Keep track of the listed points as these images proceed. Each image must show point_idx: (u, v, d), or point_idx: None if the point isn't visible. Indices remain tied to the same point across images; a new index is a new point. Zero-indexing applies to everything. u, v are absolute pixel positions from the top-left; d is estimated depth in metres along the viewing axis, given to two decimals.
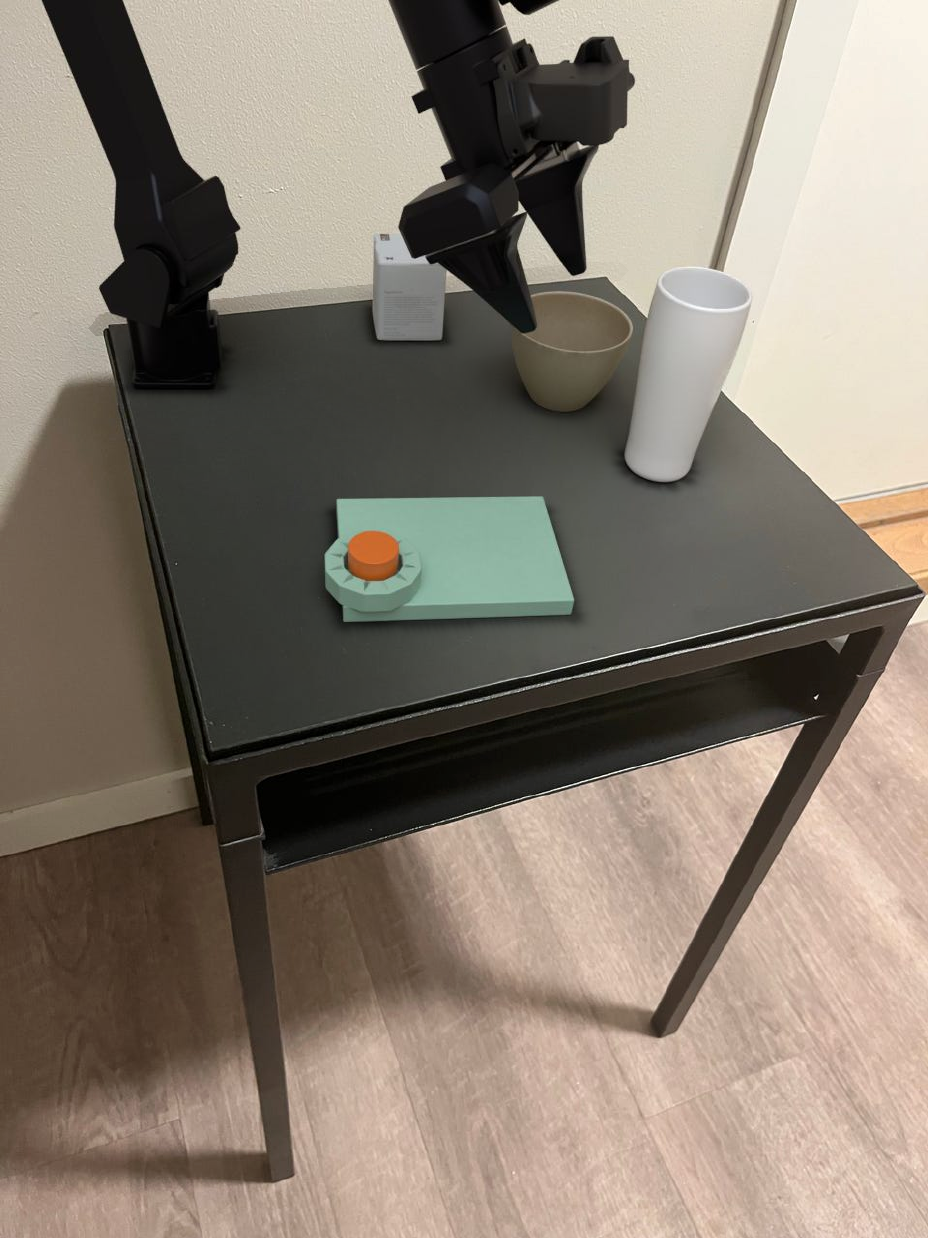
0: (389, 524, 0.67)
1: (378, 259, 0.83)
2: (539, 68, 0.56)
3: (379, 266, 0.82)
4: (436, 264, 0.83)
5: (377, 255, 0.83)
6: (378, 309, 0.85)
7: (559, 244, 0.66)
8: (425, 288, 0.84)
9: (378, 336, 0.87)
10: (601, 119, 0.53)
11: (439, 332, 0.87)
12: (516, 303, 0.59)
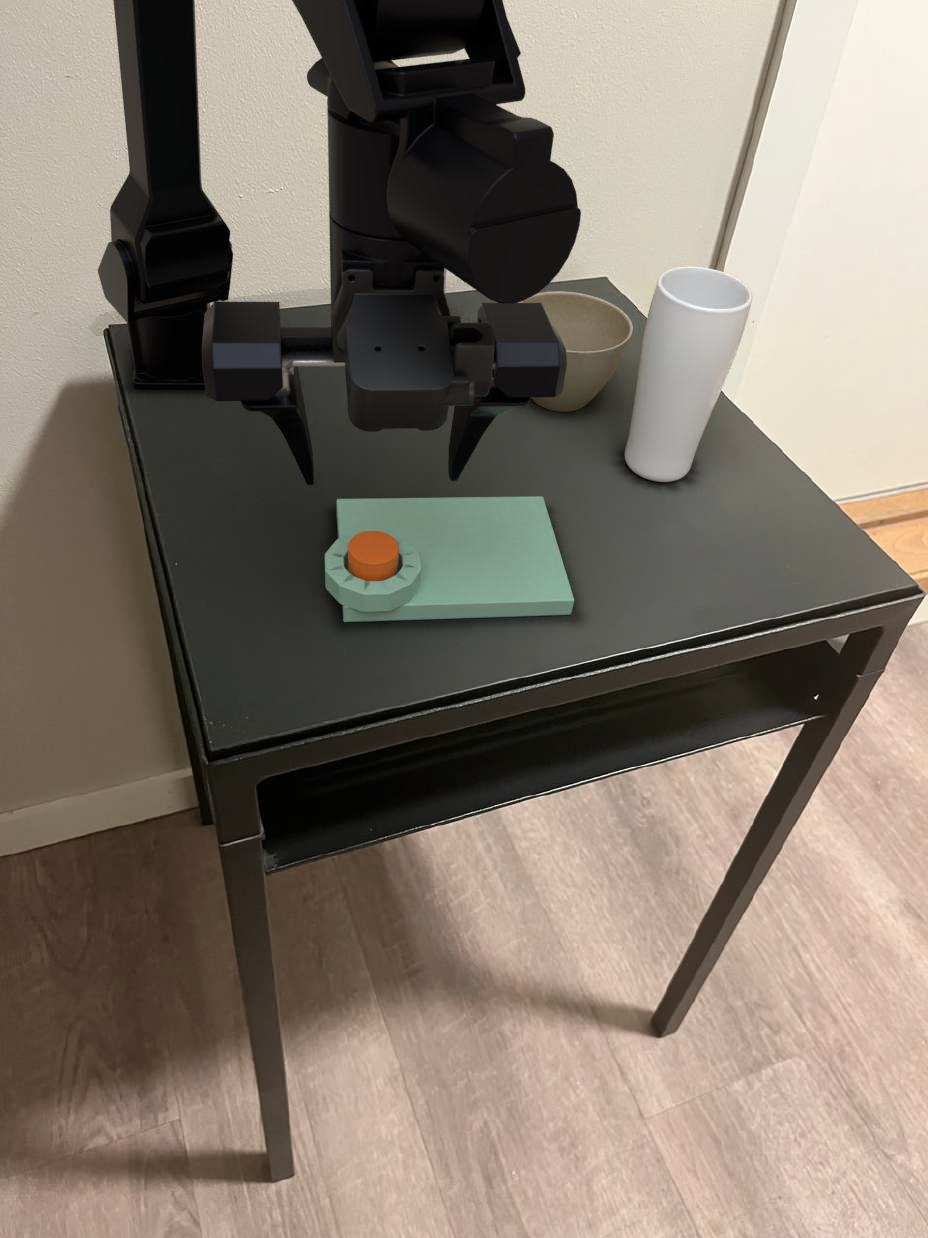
0: (389, 524, 0.67)
1: None
2: (415, 303, 0.46)
3: None
4: None
5: None
6: None
7: (452, 439, 0.57)
8: None
9: None
10: (355, 410, 0.45)
11: None
12: None
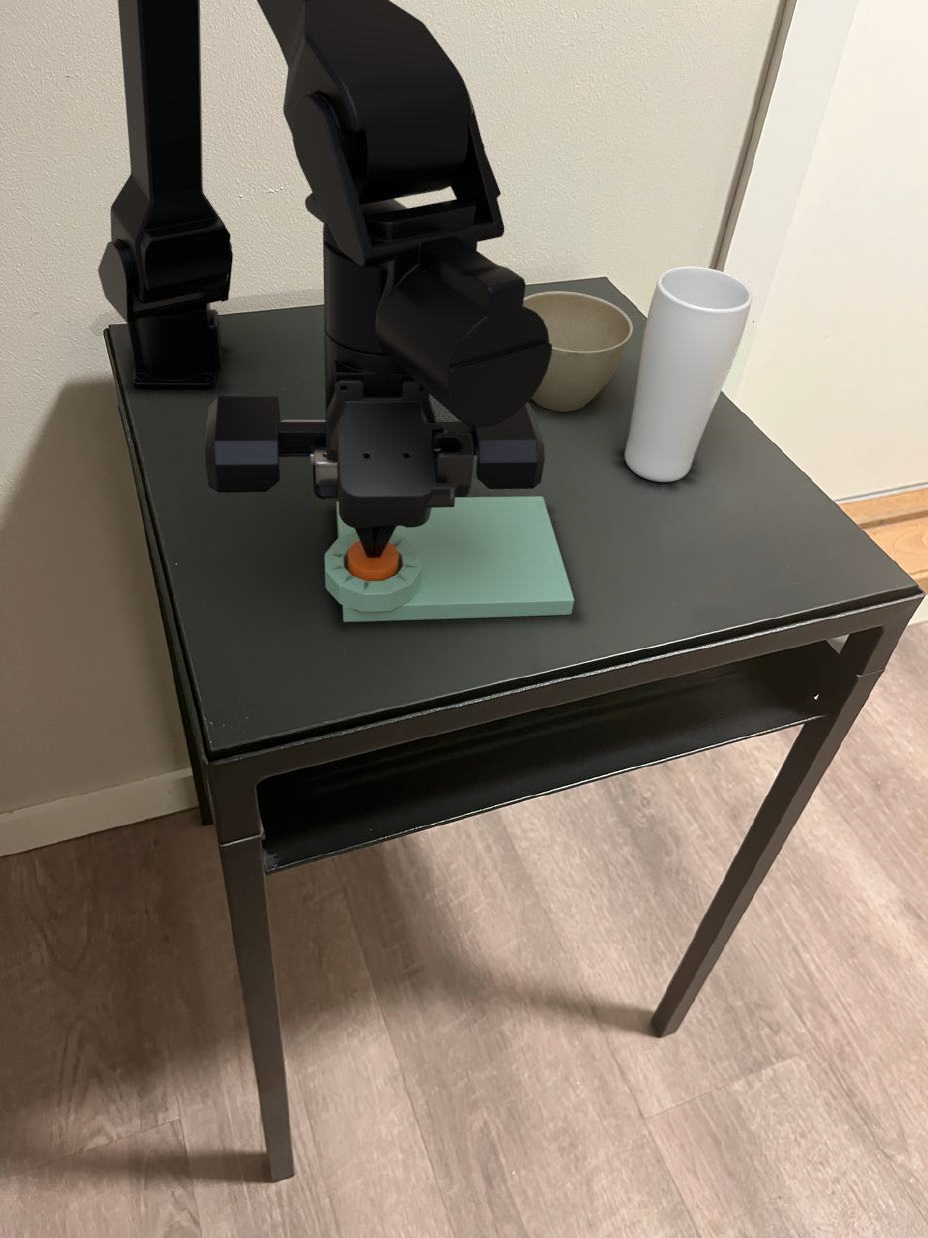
0: None
1: None
2: (402, 411, 0.50)
3: None
4: None
5: None
6: None
7: None
8: None
9: None
10: (345, 511, 0.49)
11: None
12: None
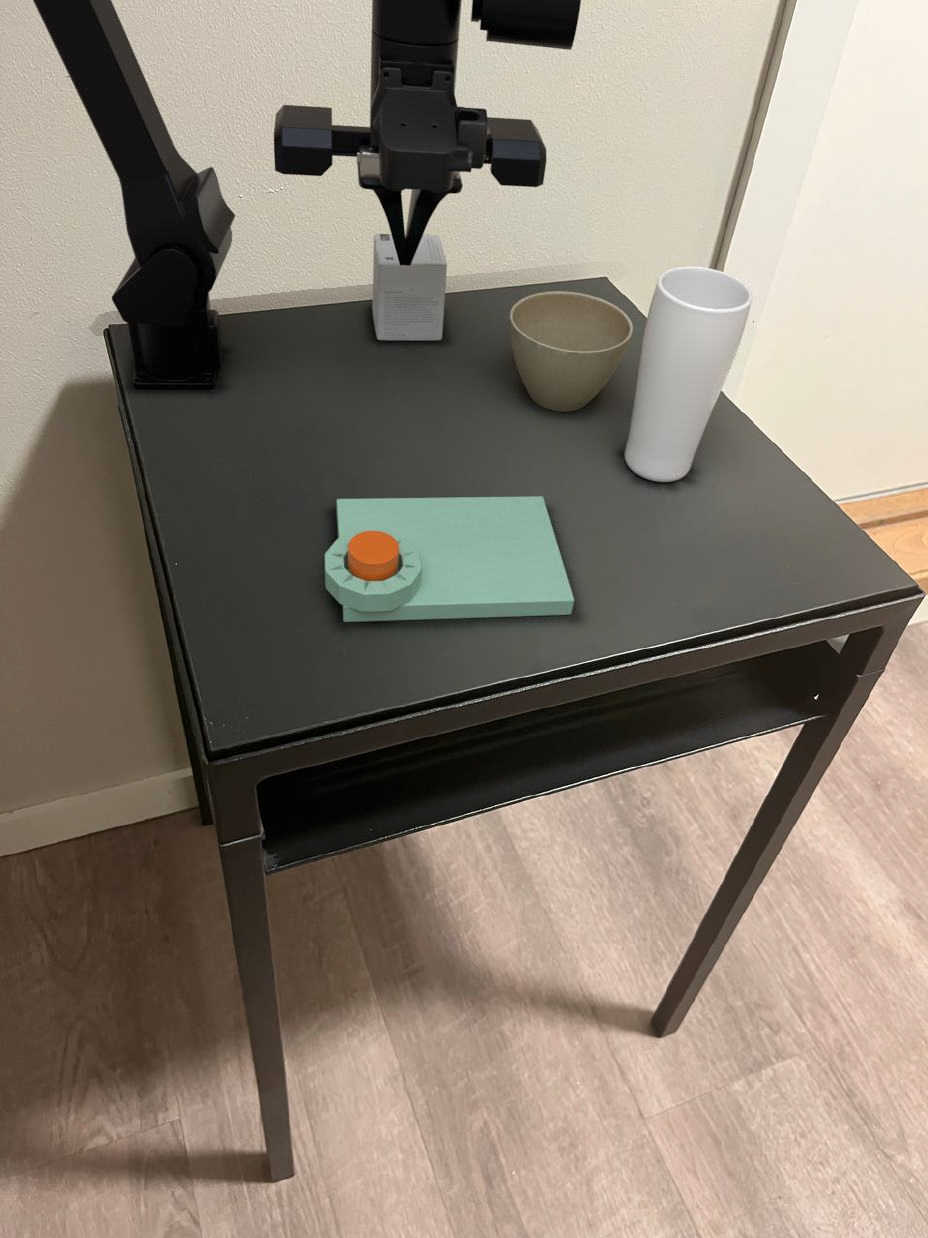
0: (389, 524, 0.67)
1: (378, 259, 0.83)
2: (432, 97, 0.63)
3: (379, 266, 0.82)
4: (436, 264, 0.83)
5: (377, 255, 0.83)
6: (378, 309, 0.85)
7: (407, 230, 0.73)
8: (425, 288, 0.84)
9: (378, 336, 0.87)
10: (385, 170, 0.62)
11: (439, 332, 0.87)
12: None
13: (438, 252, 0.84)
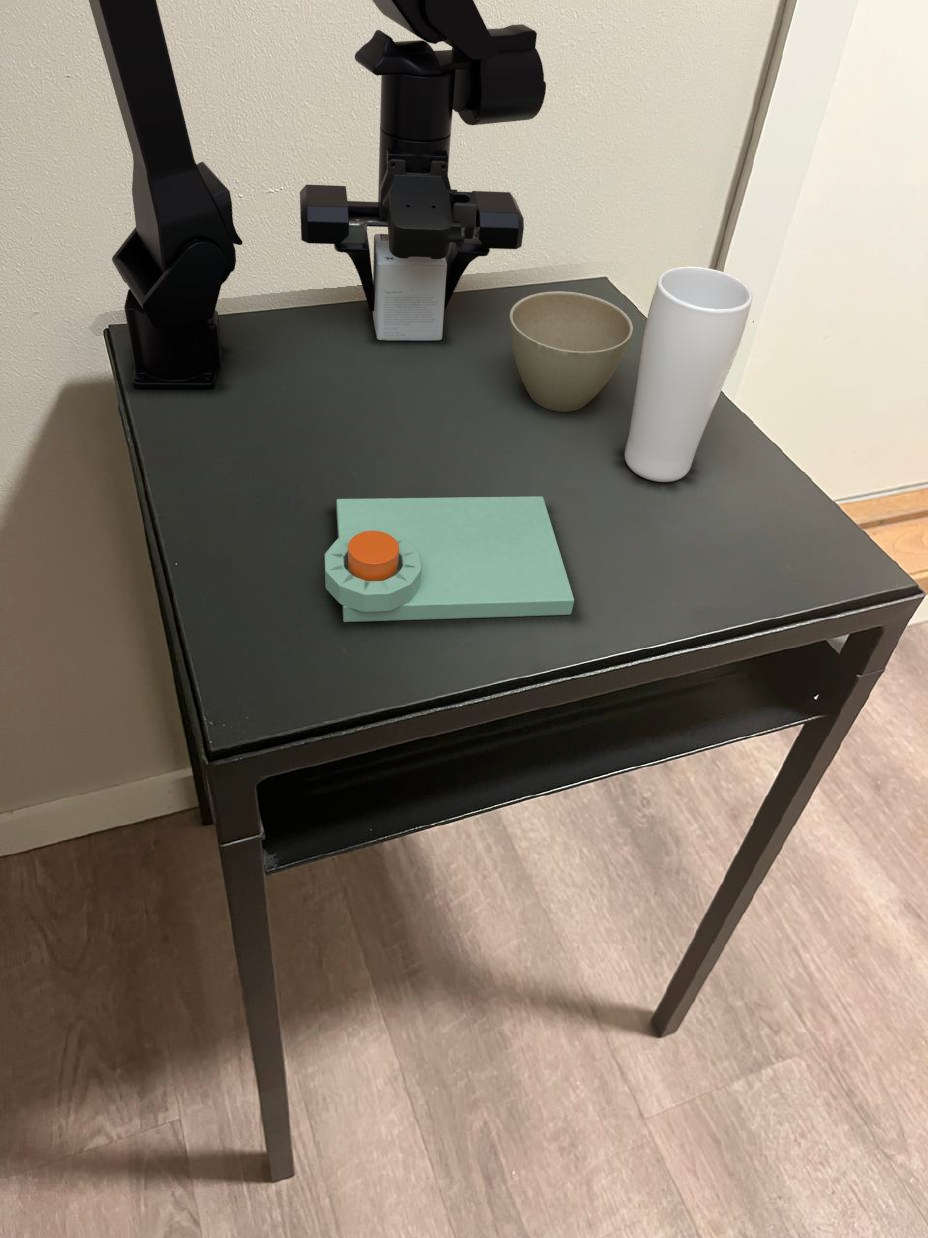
0: (389, 524, 0.67)
1: (378, 259, 0.83)
2: (430, 181, 0.77)
3: (379, 266, 0.82)
4: (436, 264, 0.83)
5: (377, 255, 0.83)
6: (378, 309, 0.85)
7: None
8: (425, 288, 0.84)
9: (378, 336, 0.87)
10: (394, 243, 0.76)
11: (439, 332, 0.87)
12: None
13: None
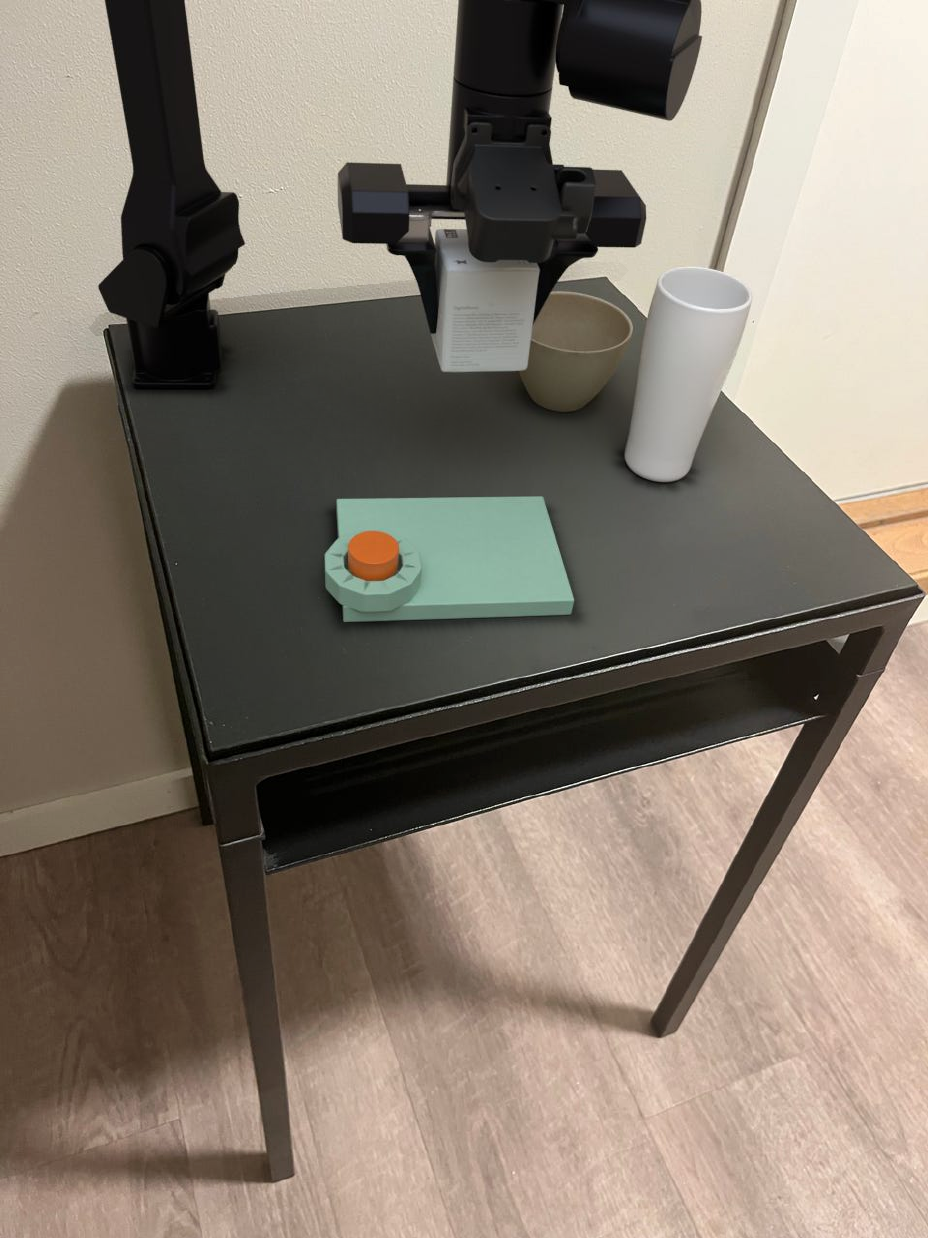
0: (389, 524, 0.67)
1: (446, 263, 0.60)
2: (526, 154, 0.55)
3: (448, 273, 0.60)
4: (525, 269, 0.61)
5: (444, 258, 0.61)
6: (444, 331, 0.63)
7: None
8: (509, 302, 0.62)
9: (443, 367, 0.64)
10: (477, 241, 0.54)
11: (524, 360, 0.65)
12: None
13: None
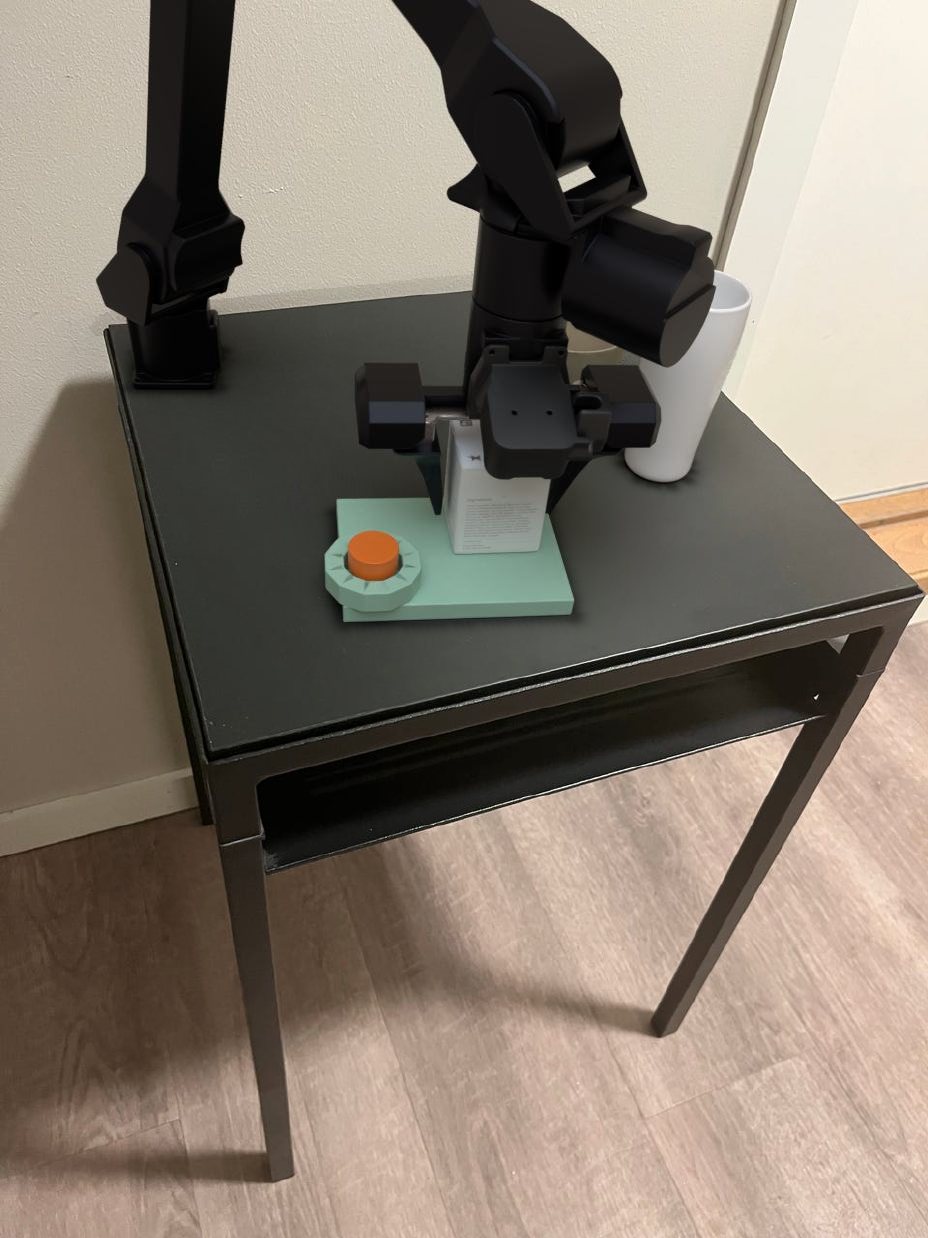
0: (389, 524, 0.67)
1: (460, 459, 0.61)
2: (543, 373, 0.55)
3: (462, 470, 0.60)
4: None
5: (458, 452, 0.61)
6: (457, 519, 0.63)
7: None
8: (522, 494, 0.62)
9: (455, 550, 0.65)
10: (493, 463, 0.54)
11: (536, 543, 0.65)
12: None
13: None
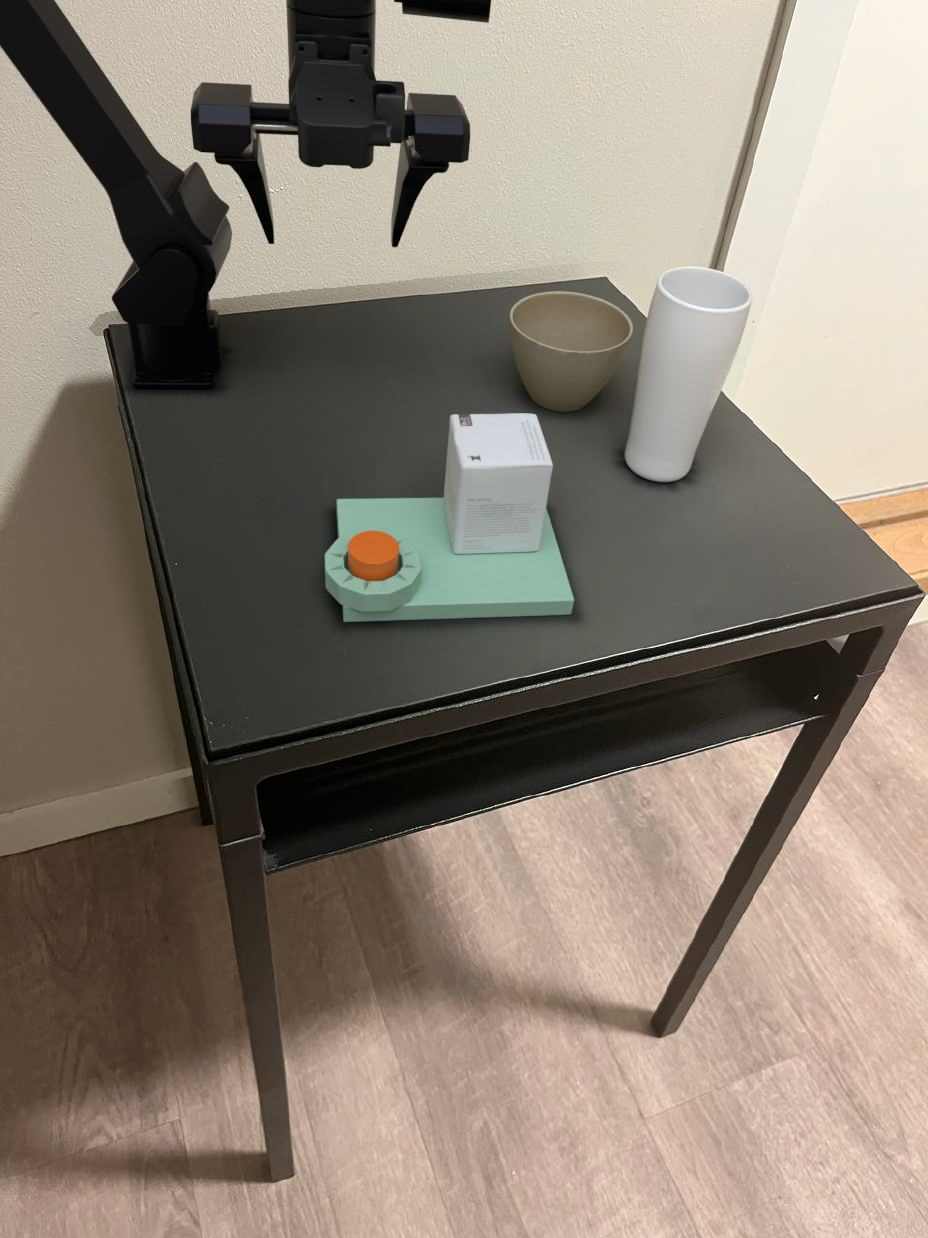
0: (389, 524, 0.67)
1: (460, 459, 0.61)
2: (349, 70, 0.62)
3: (462, 470, 0.60)
4: (539, 465, 0.61)
5: (458, 452, 0.61)
6: (457, 519, 0.63)
7: (393, 211, 0.73)
8: (522, 494, 0.62)
9: (455, 550, 0.65)
10: (302, 146, 0.61)
11: (536, 543, 0.65)
12: None
13: (540, 445, 0.62)
